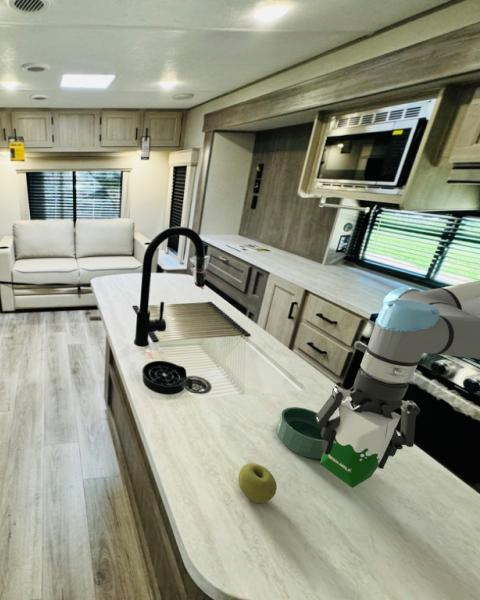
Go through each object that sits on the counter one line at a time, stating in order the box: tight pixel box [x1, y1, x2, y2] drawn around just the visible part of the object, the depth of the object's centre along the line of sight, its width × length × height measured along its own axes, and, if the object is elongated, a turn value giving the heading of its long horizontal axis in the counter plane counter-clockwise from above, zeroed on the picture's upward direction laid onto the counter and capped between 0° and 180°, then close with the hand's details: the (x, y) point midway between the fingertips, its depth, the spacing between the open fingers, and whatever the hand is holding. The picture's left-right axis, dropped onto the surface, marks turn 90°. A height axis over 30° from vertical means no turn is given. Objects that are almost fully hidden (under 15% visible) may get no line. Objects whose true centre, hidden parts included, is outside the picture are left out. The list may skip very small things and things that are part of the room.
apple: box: [237, 462, 277, 504], centre depth 72 cm, size 8×8×7 cm
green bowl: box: [276, 406, 324, 460], centre depth 87 cm, size 13×13×6 cm
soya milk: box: [319, 397, 401, 489], centre depth 69 cm, size 9×9×20 cm
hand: (350, 456), depth 71 cm, fingers closed on soya milk, 9 cm apart
